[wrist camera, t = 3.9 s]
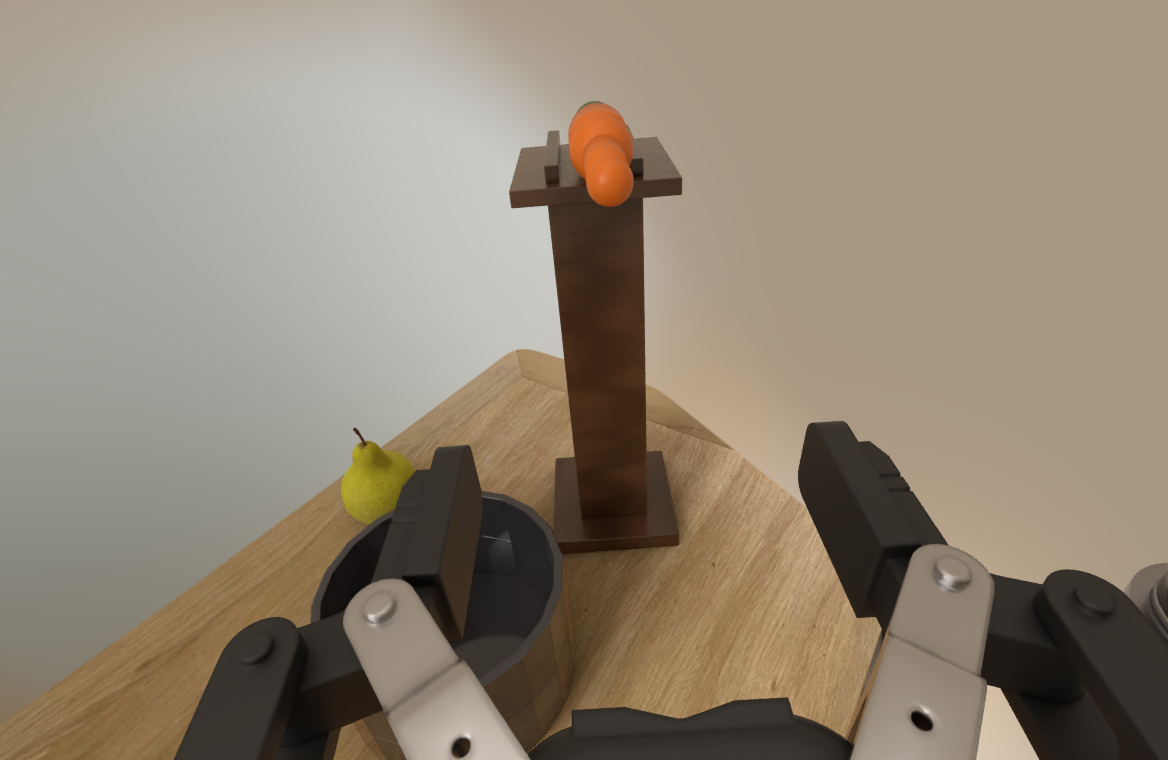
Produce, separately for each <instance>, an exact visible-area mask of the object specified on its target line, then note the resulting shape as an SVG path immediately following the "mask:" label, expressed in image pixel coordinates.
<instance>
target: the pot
mask: <svg viewBox="0 0 1168 760" xmlns="http://www.w3.org/2000/svg"><path fill="white" fill-rule="evenodd" d="M481 493H482V518H481V524H480V531H479V537H478V544H477V550H476V556H475V563H474V569H473V575H472V582H471V588H470V595H469V601H468V607H467V614H466V620H465V627H464V633H463V639H462V641H448V643H449V644H450V646H451V647H452V649H453V651H454V652H455V654H456V655H457V656H458V658H459V659H461V658H462V659H463V660H464V661H465V662H466V663H467V664H468V666H469V667H470V669H471V670H472V672H473V673H474V675H475V676H476V678H477V679H478V681H479V682H480V684H481V685H482V687H483V688H484V690H485V691H486V693H487V694H488V696H489V697H490V699H491V701H492V702H493V704H494V705H495V707H496V708H497V710H498V711H499V713H500V714H501V716H502V717H503V719H504V720H505V722H506V723H507V725H508V726H509V728H510V729H511V731H512V733H513V734H514V736H515V737H516V739H517V740H518V742H519V743H520V745H521V746H522V748H523V749H524V751H525V752H526V753H527V752H528V751H529V750H530V749H531V748H532V747H533V746H534V745H535V744H536V743H537V742H538V741H539V740H540V739H541V738H542V737H543V736H544V734H545V733H546V732H547V731H548V729H549V728H550V727H551V725H552V724H553V722H554V721H555V719H556V717H557V716H558V714H559V713H560V711H561V709H562V706H563V704H564V702H565V700H566V698H567V695H568V692H569V689H570V686H571V682H572V677H573V672H574V660H575V651H574V632H573V625H572V618H571V611H570V604H569V597H568V590H567V583H566V576H565V569H564V562H563V555H562V553H561V550H560V548H559V545H558V543H557V540H556V538H555V535H554V533H553V530H552V529H551V527H550V526H549V525H548V524H547V523H546V522H545V521H544V520H543V519H542V518H541V517H540V516H539V515H538V514H537V513H536V512H535V511H534V510H533V509H532V508H531V507H529V506H527V505H525V504H523V503H521V502H519V501H517V500H515V499H513V498H511V497H509V496H507V495H504V494H498V493H492V492H486V491H481ZM394 510H395V509H394ZM394 510H392V511H390V512H388V513H386V514H385V515H383V516H381V517H379V518H377V519H376V520H375V521H373V522H372V523H371V524H370V525H368V526H367V527H366V528H365V529H364V530H362V531H361V532H360V533H359V534H358V535H356V536H355V537H354V538H353V539H351V540H350V541H349V542H348V543H347V544H346V546H345V547H344V548H343V549H342V551H341V552H340V553H339V555H338V556H337V557H336V558H335V560H334V561H333V562H332V564H331V565H330V566H329V567H328V569H327V570H326V572H325V573H324V576H323V578H322V581H321V583H320V586H319V588H318V590H317V593H316V595H315V598H314V600H313V603H312V606H311V622H310V624H311V623H314V622H317V621H320V620H322V619H325V618H328V617H331V616H333V615H336V614H338V613H340V612H342V611H344V610H346V608H347V606H348V604H349V603H350V601H351V600H352V599H353V597H354V596H355V595H356V594H357V593H358V592H360V591H361V590H362V589H363V588H365V587H366V586H368V585H370V583H371V581H372V579H373V576H374V573H375V569H376V566H377V563H378V560H379V557H380V554H381V551H382V548H383V545H384V541H385V538H386V535H387V532H388V529H389V526H390V524H391V523H392V521H391V520H392V517H393V513H394ZM353 723H354V725H355V727H356V728H357V730H358V732H359V733H360V735H361V736H362V738H363V740H364V741H365V743H366V745H367V746H368V748H369V749H371V750H372V751H373V752H374V753H375V754H376V756H377V757H378V758H379V759H380V760H407V759H406V757H405V755H404V753H403V751H402V749H401V747H400V745H399V743H398V741H397V738H396V736H395V734H394V732H393V730H392V728H391V726H390V724H389V722H388V720H387V718H386V715H385V712H384V710H383V711H380V712H378V713H376V714H373V715H371V716H368V717H366V718H363V719H361V720H358V721H356V722H353Z"/></svg>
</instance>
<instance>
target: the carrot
mask: <svg viewBox="0 0 1168 760" xmlns="http://www.w3.org/2000/svg"><path fill="white" fill-rule="evenodd" d="M568 137H569V153H570V159H571V162H572V165H573V167H574V168H575V170H576V171H577V173H578V174H579V175H580V176H581V177H582V178H584V179H585V180H586V185H587V190H588V193H589V195H590V196H591V198H592V199H593V200H594V201H595V202H596V203H598V204H600V205H602V206H605V207H614V206H617V205H620V204H622V203H623V202H624V201H625V200H627V198H628V197H629V196H630V194H631V192H632V189H633V183H634V181H633V174H632V171H631V169H630V164H631V162H632V158H633V152H634V146H633V140H632V136H631V134H630V132H629V130H628V128H627V126H626V124H625V122H624V120H623V118H622V116H621V115H620V114H619V112H618V111H616V110H615V109H614V108H613V107H611V106H609V105H606V104H604V103H602V102H598V101H592V102H588V103H586V104H584V105H583V106H582V107H581V108H579V110H578V111H577V113H576V115H575V116H574V118H573V119H572V121H571V124H570V127H569V133H568Z"/></svg>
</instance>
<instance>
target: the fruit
mask: <svg viewBox="0 0 1168 760" xmlns="http://www.w3.org/2000/svg"><path fill="white" fill-rule="evenodd" d="M353 431H355V433H356V434H357V435H358V436H359V437H360V439H361V441H362V442H361V443H359V444H357V445H356V446H355V448H354V450H353V454H352V457H353V464H352V465H351V467H350V468H349V469H348V470H347V472H346V473H345V475H344V478H343V481H342V486H341V495H342V500H343V503H344V506H345V508H346V510H347V511H348V512H349V514H350V515H351V516H352V517H353V518H355V519H357V520H358V521H360V522H362V523H364V524H368V525H370V524H371V523H372V522H373V521H375V520H376V519H377V518H379V517H381V516H383V515H385V514H386V513H388V512H390V511H392V510H394V509H396V504H397V501H398V498H399V495H400V492H401V489H402V486H403V485H404V484H405V483H406V482H407V480H408V479H409V478H410V477H411V476H412V474H413V473H414V472H415V469H414V467H413V465H412V464H411V463H410V461H409V460H408V459H406V458H405V457H404V456H403V455H401V454H398V453H396V452H394V451H387V450H381V448H380V447H379V446H378V445H377V444H376V443H374V442H371V441H364V439H363V438H362V436H361V434H360V433H359V431H358V430H357V429H356V428H354V429H353Z"/></svg>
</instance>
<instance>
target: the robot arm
mask: <svg viewBox="0 0 1168 760" xmlns="http://www.w3.org/2000/svg"><path fill="white" fill-rule="evenodd" d="M798 482H799V488H800V492H801V495H802V498H803V500H804V502H805V504H806V506H807V509H808V511H809V513H810V515H811V517H812V520H813V522H814V524H815V526H816V529H817V531H818V533H819V535H820V537H821V540H822V542H823V544H824V546H825V548H826V551H827V553H828V555H829V557H830V560H831V562H832V564H833V566H834V568H835V571H836V573H837V575H838V577H839V579H840V582H841V584H842V586H843V588H844V591H845V593H846V595H847V597H848V599H849V602H850V604H851V606H852V608H853V610H854V613H855V615H856V617H857V618H865V617H876V618H877V620H878V622H879V624H880V626H881V628H882V629H881V632H880V634H879V637H878V640H877V643H876V646H875V649H874V652H873V655H872V658H871V661H870V665H869V668H868V671H867V674H866V677H865V680H864V683H863V686H862V689H861V692H860V695H859V698H858V702H857V705H856V708H855V710H854V713H853V716H852V719H851V721H850V724H849V727H848V730H847V732H846V735H845V738H844V737H842V736H841V735H839V734H838V733H836V732H834V731H833V730H831V729H829V728H828V727H826V726H824V725H822V724H819V723H817V722H815V721H813V720H810V719H807V718H804V717H801V716H797V715H793V713H792V709H791V706H790V703H789V699H788V697H787V698H770V699H753V700H736V701H732V702H729V703H726V704H724V705H721V706H718V707H715V708H712V709H710V710H707V711H704V712H701V713H699V714H696V715H693V716H690V717H687V718H682V719H679V718H673V717H668V716H663V715H659V714H654V713H650V712H645V711H640V710H636V709H631V708H626V707H618V708H601V709H584V710H572V726H571V727H569V728H566V729H563V730H561V731H559V732H557V733H555V734H553V735H551V736H550V737H548V738H547V739H545V740H544V741H542V742H541V743H540V744H538V745H537V746H536V747H535V748H534V749H533V750H531V751H530V752H529V753H528V754H526V752H525V751H524V749H523V748H522V746H521V745H520V743H519V742H518V740H517V739H516V737H515V736H514V734H513V733H512V731H511V729H510V728H509V726H508V725H507V723H506V722H505V720H504V719H503V717H502V716H501V714H500V713H499V711H498V710H497V708H496V707H495V705H494V704H493V702H492V701H491V699H490V697H489V696H488V694H487V693H486V691H485V690H484V688H483V687H482V685H481V684H480V682H479V681H478V679H477V678H476V676H475V675H474V673H473V672H472V670H471V669H470V667H469V666H468V664H467V663H466V662H465V661H464V660H463V659H462V658H461V659H459V658H458V656H457V655H456V654H455V652H454V651H453V649H452V647H451V646H450V644H449V643H448V641H462V639H463V633H464V627H465V620H466V614H467V607H468V601H469V595H470V588H471V582H472V575H473V569H474V563H475V556H476V550H477V544H478V537H479V531H480V524H481V518H482V493H481V488H480V483H479V479H478V475H477V471H476V467H475V463H474V459H473V455H472V451H471V448H470V446H469V445H463V446H448V447H438V448H437V449H436V451H435V454H434V457H433V461H432V465H431V468H430V470H416V471H415V472H414V473H413V474H412V476H411V477H410V478H409V479H408V480H407V482H406V483H405V484H404V485H403V486H402V489H401V492H400V495H399V498H398V501H397V504H396V509H395V510H394V513H393V517H392V520H391V521H392V523H391V524H390V526H389V529H388V532H387V535H386V538H385V541H384V545H383V548H382V551H381V554H380V557H379V560H378V563H377V566H376V569H375V573H374V576H373V579H372V581H371V583H370V585H368V586H366V587H365V588H363V589H362V590H361V591H360V592H358V593H357V594H356V595H355V596H354V597H353V599H352V600H351V601H350V603H349V604H348V606H347V608H346V610H344V611H342V612H340V613H338V614H336V615H333V616H331V617H328V618H325V619H322V620H320V621H317V622H314V623H311V624H308V625H305V626H303V627H300V628H296V626H295V625H294V624H293V622H291V621H290V620H288V619H285V618H281V617H271V618H266V619H263V620H260V621H257V622H255V623H253V624H251V625H249V626H247V627H246V628H244V629H243V630H242V631H240V632H239V633H238V634H237V635H236V636H235V637H233V638H232V640H231V641H230V642H229V643H228V644H227V646H226V647H225V648H224V650H223V652H222V654H221V655H220V657H219V660H218V662H217V664H216V666H215V669H214V671H213V673H212V675H211V678H210V680H209V682H208V684H207V687H206V689H205V691H204V693H203V695H202V698H201V700H200V702H199V704H198V707H197V709H196V711H195V713H194V716H193V718H192V720H191V722H190V724H189V727H188V729H187V731H186V733H185V736H184V738H183V740H182V742H181V745H180V747H179V749H178V751H177V753H176V756H175V758H174V760H333V758H334V754H335V750H336V746H337V742H338V738H339V734H340V730H341V727H343V726H346V725H348V724H351V723H353V722H356V721H358V720H361V719H363V718H366V717H368V716H371V715H373V714H376V713H378V712H380V711H383V710H384V712H385V715H386V718H387V720H388V722H389V724H390V726H391V728H392V730H393V732H394V734H395V736H396V738H397V741H398V743H399V745H400V747H401V749H402V751H403V753H404V755H405V757H406V759H407V760H976V756H977V750H978V743H979V738H980V731H981V725H982V718H983V712H984V706H985V699H986V693H987V685H990V686H994V687H998V688H1001V690H1002V692H1003V694H1004V696H1005V697H1006V699H1007V701H1008V703H1009V705H1010V707H1011V708H1012V710H1013V712H1014V714H1015V716H1016V718H1017V719H1018V721H1019V723H1020V725H1021V727H1022V729H1023V730H1024V732H1025V734H1026V736H1027V738H1028V740H1029V741H1030V743H1031V745H1032V747H1033V749H1034V750H1035V752H1036V754H1037V756H1038V758H1039V760H1168V643H1167V642H1166V641H1165V640H1164V639H1163V637H1162V636H1161V635H1160V634H1159V633H1158V631H1157V630H1156V629H1155V628H1154V627H1153V625H1152V624H1151V623H1150V622H1149V621H1148V619H1147V618H1146V617H1145V616H1144V615H1143V613H1142V612H1141V611H1140V610H1139V608H1138V607H1137V606H1136V605H1135V604H1134V602H1133V601H1132V600H1131V599H1130V598H1129V597H1128V596H1127V595H1126V594H1125V593H1123V592H1122V591H1121V590H1120V589H1118V588H1117V587H1116V586H1114V585H1113V584H1111V583H1109V582H1107V581H1106V580H1104V579H1102V578H1099V577H1097V576H1095V575H1092V574H1090V573H1086V572H1082V571H1077V570H1067V569H1066V570H1059V571H1055V572H1053V573H1051V574H1050V575H1049V576H1048V577H1047V578H1046V580H1045V581H1044V583H1043V584H1037V583H1032V582H1028V581H1022V580H1017V579H1013V578H1007V577H1003V576H998V575H994V574H991V573H989V572H988V570H987V569H986V568H985V567H984V566H983V565H982V564H981V563H980V562H979V561H978V560H977V559H975V558H973V556H971V555H969V554H968V553H966V552H964V551H962V550H960V549H957V548H954V547H951V546H949V545H948V544H947V542H946V541H945V539H944V538H943V536H942V535H941V533H940V532H939V530H938V529H937V527H936V526H935V524H934V523H933V521H932V520H931V518H930V517H929V515H928V514H927V512H926V511H925V509H924V508H923V506H922V505H921V503H920V502H919V500H918V499H917V497H916V496H915V495H914V493H913V492H912V491H910V487H909V485H908V484H907V482H906V481H905V479H904V478H903V477H901V476H900V472H899V470H898V469H897V468H896V466H895V465H894V463H893V462H892V460H891V459H890V457H889V456H888V455H887V454H886V453H884V452H883V451H881V450H880V449H879V448H878V447H876V446H875V445H874V444H873V443H871V442H870V441H865V442H858V440H857V439H856V437H855V436H854V434H853V432H852V431H851V429H850V427H849V426H848V424H847V423H846V422H844V421H832V422H818V423H810V424H809V425H808V427H807V430H806V435H805V440H804V445H803V449H802V455H801V459H800V465H799V469H798ZM1151 601H1152V605H1153V607H1154V610H1155V612H1156V614H1157V615H1158V617H1159V618H1160V620H1161V621H1162V623H1163V624H1164V625H1165V626H1166V628H1167V629H1168V571H1167V573H1166V574H1165V575H1164V576H1162V577H1161V578H1160V579H1159V580H1158V581H1157V582H1156V584H1155V585H1154V587H1153V588H1152V592H1151Z"/></svg>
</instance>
